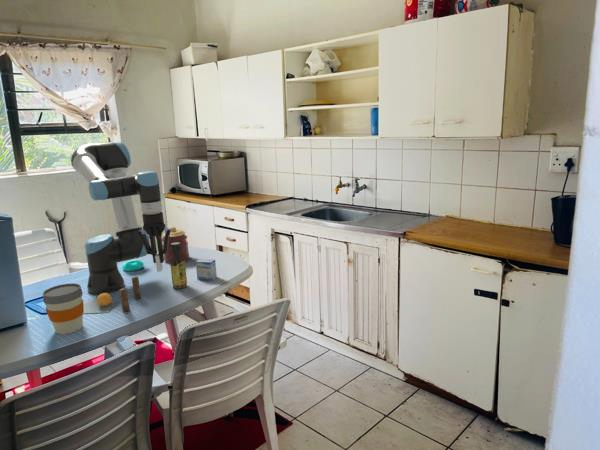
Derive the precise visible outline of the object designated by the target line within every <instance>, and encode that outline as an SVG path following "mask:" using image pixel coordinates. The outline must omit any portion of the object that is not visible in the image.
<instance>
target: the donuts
mask: <svg viewBox="0 0 600 450" xmlns="http://www.w3.org/2000/svg"><path fill="white" fill-rule="evenodd" d="M143 267H144V262H143V261H142V260H139V259H131V260H127V261H126V262H124V263H122V270H124V271H125V272H133V271H138V270H141V269H142V268H143Z"/></svg>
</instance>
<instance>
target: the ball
mask: <svg viewBox="0 0 600 450" xmlns="http://www.w3.org/2000/svg"><path fill="white" fill-rule="evenodd" d="M112 298H113V297H112V296H111V294H109V293H102V294H98V296H97V298H96V299H97V303H98V304H99V305H100V306H102V307H106V306H108V305H110V303H111V301H112Z"/></svg>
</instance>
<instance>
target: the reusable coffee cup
mask: <svg viewBox="0 0 600 450" xmlns="http://www.w3.org/2000/svg"><path fill="white" fill-rule="evenodd" d="M42 301H43V303H44V304H45V306H46V307H45V311H46V314H47V316H48V319H49V322H51V323H52V325H53V329H54V332H55V334H57V333H59V334H58V335H67V334H66V333H69V334H72V333H71V332H73V333H75V332H77V331H76V330H78V329H79V330H81V329H82V328H83V327H82V326H84V321H83V318H84V314H83V313H84V306H83V304H84V299H83V290H82V286H81V284H79V283H62V284H59V285H55V286H52V287H48V288H47V289H46V290H44V291H43V292H42ZM81 327H82V328H81ZM80 328H81V329H80ZM79 330H78V331H79ZM74 331H75V332H74Z"/></svg>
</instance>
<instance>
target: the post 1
mask: <svg viewBox="0 0 600 450" xmlns="http://www.w3.org/2000/svg"><path fill="white" fill-rule="evenodd" d="M119 296H120V297H119V298H121V300H120V303H121V309H122V313H125V312H126V313H129V312H131V309H130V307H131V306H130V302H129V295H128V290H127V288H125V287H124V288H123V287H122V288H120V289H119ZM126 313H125V314H126Z"/></svg>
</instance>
